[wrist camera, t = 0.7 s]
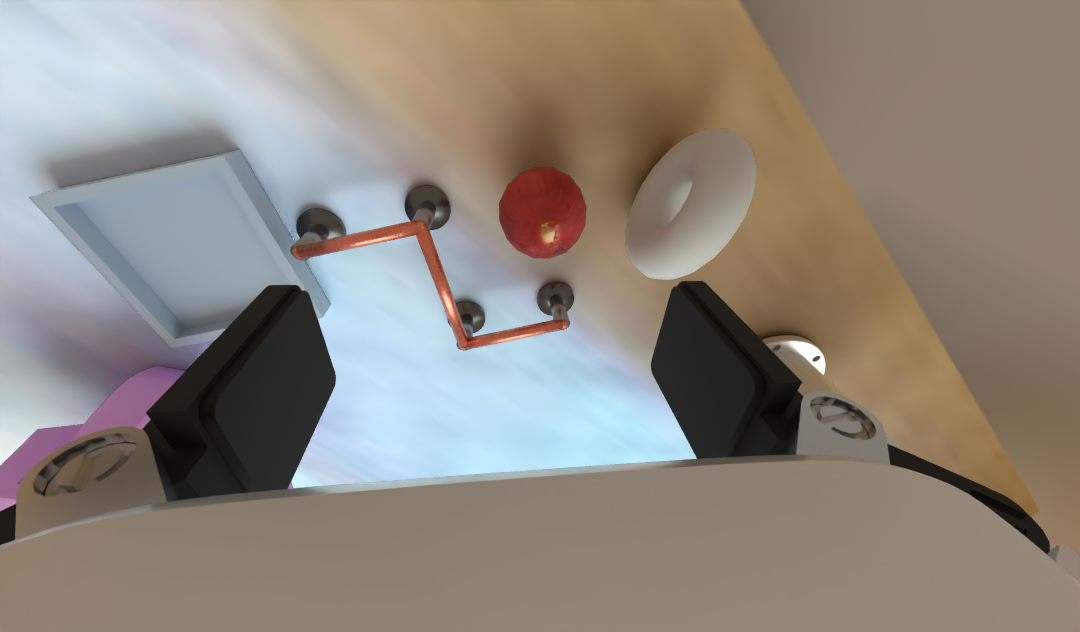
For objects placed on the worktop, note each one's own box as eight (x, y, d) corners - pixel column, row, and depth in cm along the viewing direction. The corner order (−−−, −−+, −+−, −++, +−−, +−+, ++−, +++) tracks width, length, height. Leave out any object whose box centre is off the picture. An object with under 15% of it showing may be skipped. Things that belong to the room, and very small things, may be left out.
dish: (330, 304, 32) (322, 317, 30) (187, 334, 32) (172, 349, 30) (240, 149, 25) (223, 155, 23) (57, 188, 25) (28, 197, 23)
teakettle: (225, 334, 32) (102, 461, 22) (344, 449, 42) (297, 576, 31) (56, 394, 34) (-133, 539, 23) (208, 492, 43) (121, 627, 33)
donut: (676, 108, 26) (762, 130, 18) (713, 132, 27) (810, 162, 19) (601, 234, 31) (643, 297, 23) (636, 250, 32) (687, 316, 24)
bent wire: (575, 309, 35) (585, 338, 31) (368, 352, 35) (354, 387, 31) (552, 157, 27) (562, 172, 23) (289, 213, 27) (258, 237, 24)
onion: (583, 219, 30) (610, 264, 23) (515, 245, 31) (522, 295, 24) (561, 144, 27) (585, 171, 20) (485, 174, 27) (484, 210, 21)
